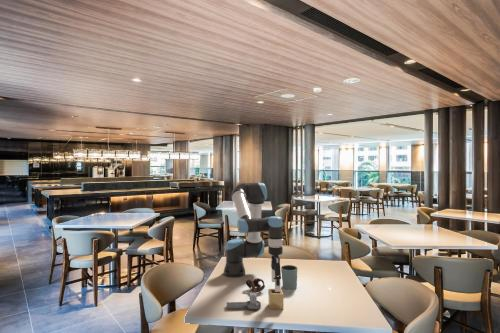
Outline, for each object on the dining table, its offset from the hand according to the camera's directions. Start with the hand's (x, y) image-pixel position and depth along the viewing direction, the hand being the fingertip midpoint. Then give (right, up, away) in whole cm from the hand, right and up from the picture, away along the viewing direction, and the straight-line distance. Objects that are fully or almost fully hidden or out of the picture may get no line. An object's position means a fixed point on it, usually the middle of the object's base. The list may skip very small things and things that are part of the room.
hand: (275, 286), depth 157 cm
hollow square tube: (0, -11, 0) cm, 11 cm away
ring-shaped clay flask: (-11, -11, +21) cm, 26 cm away
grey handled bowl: (-18, -11, -1) cm, 21 cm away
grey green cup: (+11, -11, +27) cm, 31 cm away
